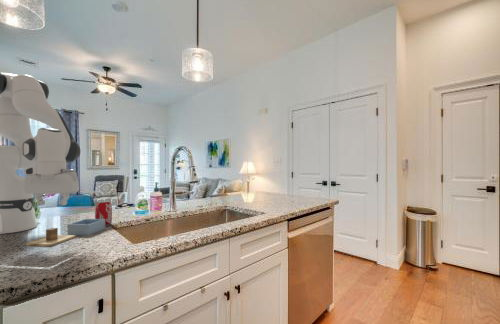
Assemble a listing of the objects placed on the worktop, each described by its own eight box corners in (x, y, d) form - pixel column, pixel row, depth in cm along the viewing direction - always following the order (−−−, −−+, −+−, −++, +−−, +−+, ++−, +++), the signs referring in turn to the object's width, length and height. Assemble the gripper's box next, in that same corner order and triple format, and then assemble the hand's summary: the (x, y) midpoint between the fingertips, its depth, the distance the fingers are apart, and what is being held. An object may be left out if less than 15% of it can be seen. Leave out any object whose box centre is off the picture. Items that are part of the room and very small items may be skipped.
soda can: (103, 227, 110) (103, 202, 110) (91, 226, 112) (91, 202, 112) (115, 223, 117) (115, 200, 117) (103, 223, 119) (103, 199, 119)
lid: (25, 245, 85) (25, 232, 85) (52, 236, 95) (52, 224, 95) (51, 246, 84) (51, 233, 84) (75, 237, 94) (75, 225, 94)
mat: (24, 247, 85) (24, 245, 85) (52, 237, 96) (52, 236, 96) (51, 248, 84) (51, 246, 84) (76, 238, 95) (76, 236, 95)
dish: (67, 236, 97) (67, 224, 97) (85, 229, 107) (85, 218, 107) (88, 236, 96) (88, 224, 96) (105, 230, 106) (105, 219, 106)
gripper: (83, 168, 92) (83, 203, 92) (36, 169, 94) (37, 203, 94) (69, 169, 85) (69, 206, 85) (19, 170, 87) (20, 206, 87)
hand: (52, 205), depth 90 cm, fingers open, 8 cm apart
